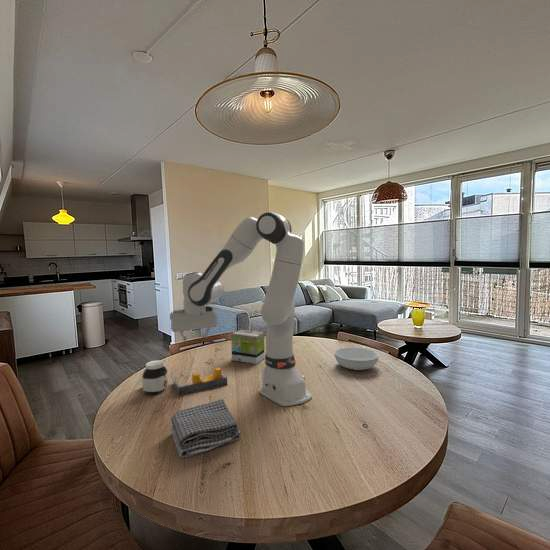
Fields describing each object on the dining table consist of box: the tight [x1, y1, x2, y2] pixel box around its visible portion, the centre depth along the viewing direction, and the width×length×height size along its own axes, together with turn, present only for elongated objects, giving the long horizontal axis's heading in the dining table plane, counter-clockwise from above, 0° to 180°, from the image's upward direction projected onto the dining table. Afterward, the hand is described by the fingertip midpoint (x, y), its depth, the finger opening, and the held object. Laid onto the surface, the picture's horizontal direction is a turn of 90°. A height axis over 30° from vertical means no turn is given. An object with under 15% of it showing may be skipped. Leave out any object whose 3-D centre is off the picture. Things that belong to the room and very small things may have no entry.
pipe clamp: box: [191, 367, 223, 384], centre depth 127 cm, size 12×4×6 cm, turn 126°
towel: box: [170, 398, 242, 459], centre depth 90 cm, size 15×18×8 cm
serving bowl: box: [334, 346, 379, 371], centre depth 146 cm, size 21×21×7 cm
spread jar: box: [140, 360, 169, 395], centre depth 123 cm, size 12×11×12 cm
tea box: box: [230, 329, 265, 365], centre depth 157 cm, size 15×10×15 cm, turn 67°
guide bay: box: [172, 372, 228, 396], centre depth 128 cm, size 13×20×3 cm, turn 118°
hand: (195, 338), depth 134 cm, fingers open, 8 cm apart
